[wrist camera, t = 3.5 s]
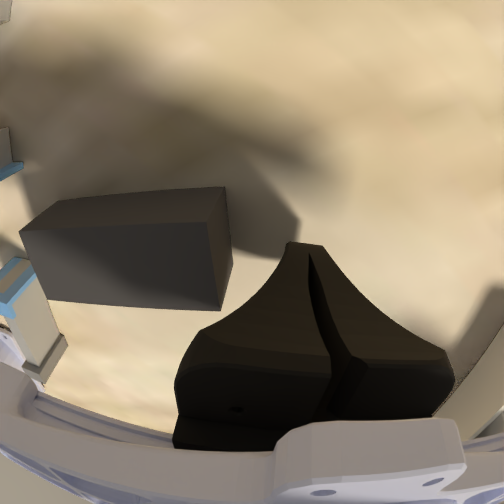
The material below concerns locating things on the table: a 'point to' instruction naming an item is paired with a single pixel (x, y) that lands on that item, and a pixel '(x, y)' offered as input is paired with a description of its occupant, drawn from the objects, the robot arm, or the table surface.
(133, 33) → the table surface
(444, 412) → the container tray
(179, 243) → the charcoal brick
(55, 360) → the blue capped pillar
